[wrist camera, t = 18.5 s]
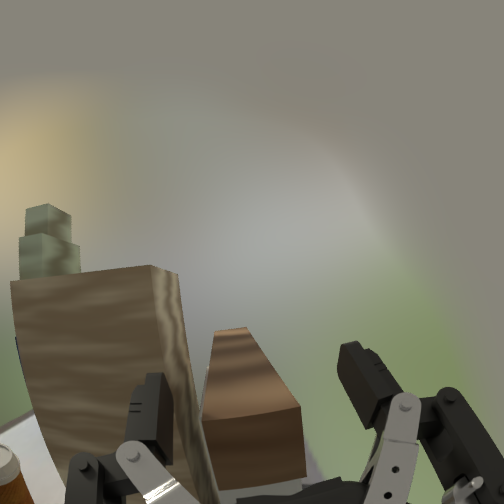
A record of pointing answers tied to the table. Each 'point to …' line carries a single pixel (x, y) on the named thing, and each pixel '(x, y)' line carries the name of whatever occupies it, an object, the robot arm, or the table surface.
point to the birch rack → (101, 351)
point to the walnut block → (250, 416)
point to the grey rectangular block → (230, 496)
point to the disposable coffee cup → (12, 479)
